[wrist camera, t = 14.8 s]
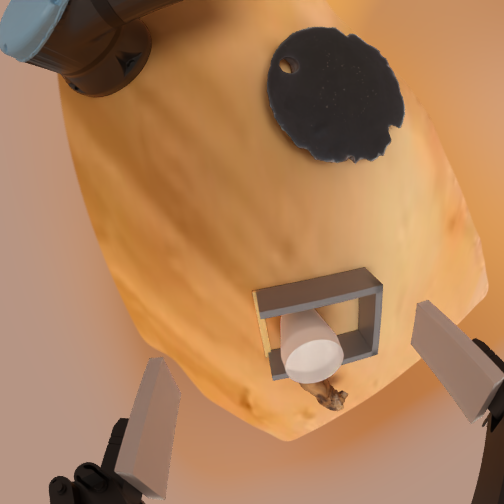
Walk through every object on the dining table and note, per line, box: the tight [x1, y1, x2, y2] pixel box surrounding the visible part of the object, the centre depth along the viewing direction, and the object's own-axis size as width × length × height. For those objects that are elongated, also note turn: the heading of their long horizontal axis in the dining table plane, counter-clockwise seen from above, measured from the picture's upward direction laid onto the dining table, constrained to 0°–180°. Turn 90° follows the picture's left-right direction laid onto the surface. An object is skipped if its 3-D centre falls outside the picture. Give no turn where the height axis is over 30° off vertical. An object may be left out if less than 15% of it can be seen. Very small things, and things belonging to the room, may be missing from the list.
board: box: [267, 27, 405, 164], centre depth 34 cm, size 22×22×5 cm
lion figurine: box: [299, 379, 348, 411], centre depth 48 cm, size 15×5×9 cm, turn 52°
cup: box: [280, 309, 344, 384], centre depth 42 cm, size 9×9×12 cm
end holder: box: [252, 267, 383, 381], centre depth 45 cm, size 14×20×7 cm
